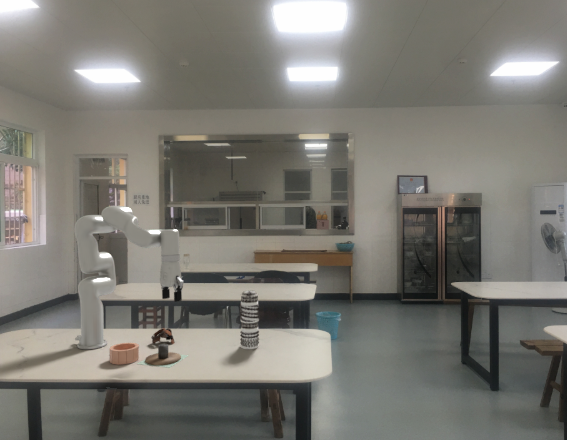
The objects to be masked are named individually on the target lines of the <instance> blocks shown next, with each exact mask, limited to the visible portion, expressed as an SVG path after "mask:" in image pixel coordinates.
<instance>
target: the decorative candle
mask: <svg viewBox="0 0 567 440" xmlns="http://www.w3.org/2000/svg"><path fill="white" fill-rule="evenodd" d="M258 295H259V293H257V292H256V291H255V290H244V291H243V292H242V293H241V294H240V297H241V299H240V304H239V305H238V306H239V307H240V308H239V315H240V317H239V319H240V322H241V325H240V326H241V327H240V338H239V340H240V348H241V349H244V350H255V349H258V348H259V347H260V345H259V343H260V337H259V336H260V334H259V333H260V331H259V321H260V312H259V310H260V304H259V300H258V299H259V297H258Z"/></svg>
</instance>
